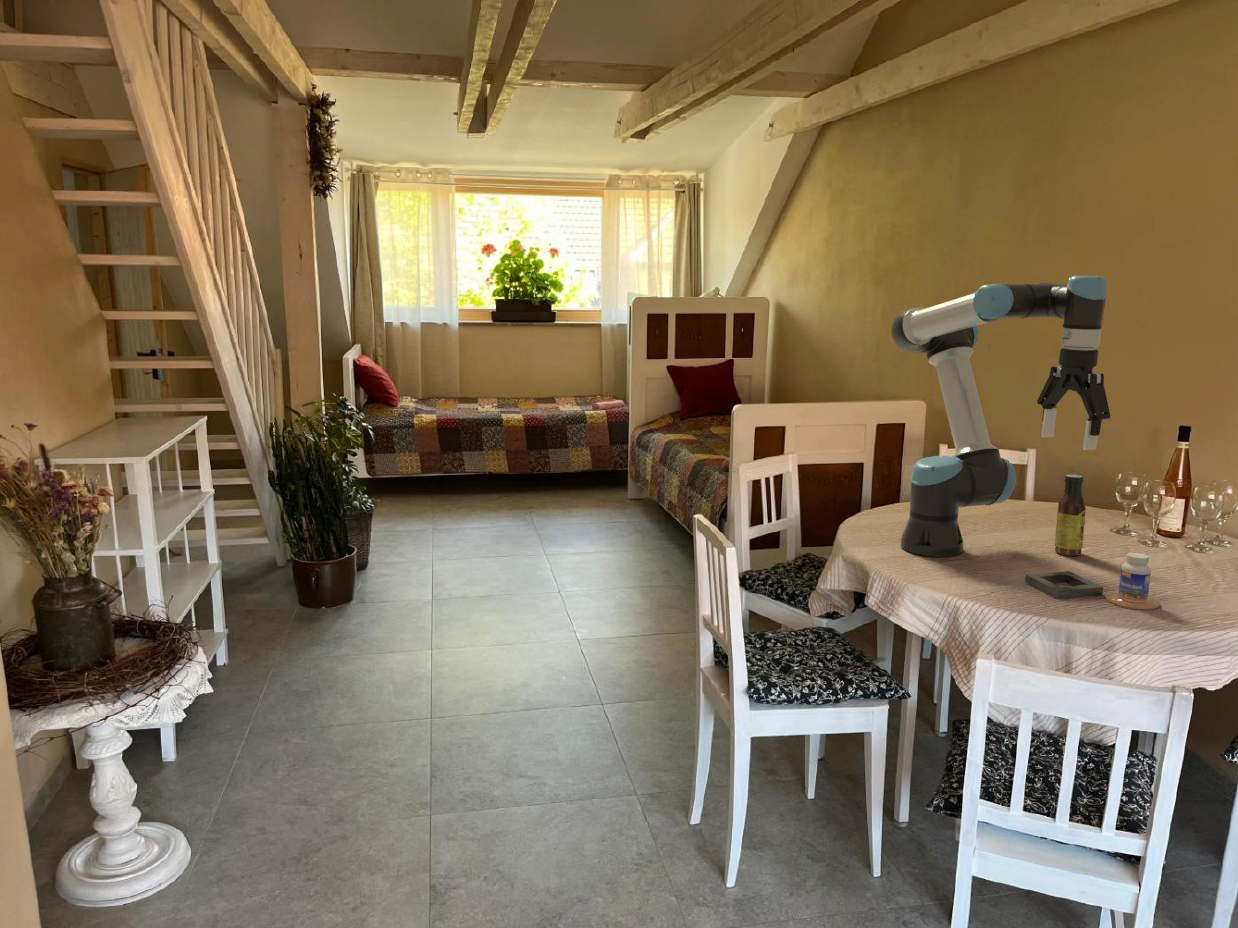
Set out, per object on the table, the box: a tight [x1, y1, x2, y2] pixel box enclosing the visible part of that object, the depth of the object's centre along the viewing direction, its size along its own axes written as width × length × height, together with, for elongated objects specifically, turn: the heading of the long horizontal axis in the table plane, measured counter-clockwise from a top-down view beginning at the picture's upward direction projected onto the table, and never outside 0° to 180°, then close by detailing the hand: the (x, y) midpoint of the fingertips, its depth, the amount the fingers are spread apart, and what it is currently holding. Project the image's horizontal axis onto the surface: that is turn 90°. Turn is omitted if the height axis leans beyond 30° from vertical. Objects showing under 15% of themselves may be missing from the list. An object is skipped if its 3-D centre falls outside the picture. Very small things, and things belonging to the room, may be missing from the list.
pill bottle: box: [1118, 552, 1152, 603], centre depth 187 cm, size 5×5×10 cm
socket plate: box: [1024, 570, 1104, 600], centre depth 196 cm, size 11×11×2 cm
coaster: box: [1105, 590, 1160, 611], centre depth 188 cm, size 10×10×1 cm
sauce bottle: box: [1054, 473, 1087, 557], centre depth 220 cm, size 7×6×20 cm
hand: (1067, 443), depth 198 cm, fingers open, 13 cm apart
